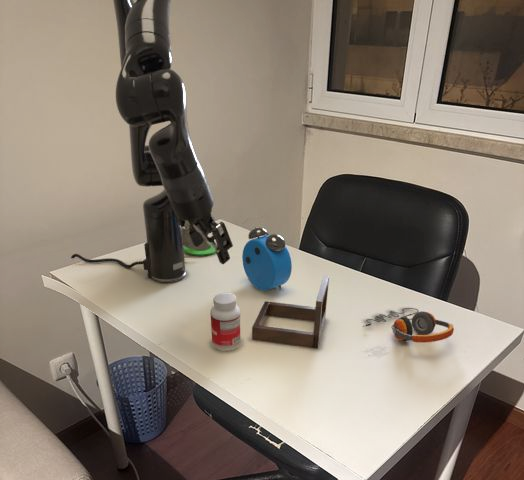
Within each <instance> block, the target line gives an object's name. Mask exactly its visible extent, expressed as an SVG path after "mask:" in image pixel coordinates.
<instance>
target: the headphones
mask: <svg viewBox="0 0 524 480" xmlns="http://www.w3.org/2000/svg"><path fill="white" fill-rule="evenodd" d="M405 310H416V312H413V313H408V314H406V315H403V316H400V315H401V314H404V313H405ZM411 316H412V318H409V317H411ZM392 317H394V318H396V320H394V322H393V324H392V325H391V327H390V328H391V330H392V333H393V335H394V337H395V338H396V339H397V340H399V341H403V342H410V341H411V342H413V343H433V342H439V341H442V340H445V339H448V338H450V337H451V336H453V335H454V330H455V328H454V324H453V323H451V322H448V321H444V320H440V319H436V318H435V316H434V314H432V313H430V312H428V311H420V310H419V309H418V308H415V307H404V308H402V312H398V311H393V310H390V311H389V314H387V315H386V314H378V315H375V316H374V318H367V319H365V322H366V323H367V324H364V325H362V328H364V327H365V328H366V327H370V326H371V325H372V324H373V323H372V321H374V322H376V323H380V322H384V323H386V322H387V320H386V319H385V318H388V319H392ZM370 321H371V322H370ZM436 325H437V326H441V327H445V328H447V329H445V330H443V331H440V332H437V333H433V332H434V330H435V327H436ZM414 331H415V332H416V334H413V333H414ZM431 333H432V334H431Z"/></svg>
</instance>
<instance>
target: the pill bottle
mask: <svg viewBox="0 0 524 480" xmlns="http://www.w3.org/2000/svg"><path fill="white" fill-rule="evenodd" d="M212 302H213V303H212V304H213V305H212V307H211V309H210V313H209V314H210V332H211V333H210V334H211V344H212V347H213V348H215V349H217V350H219V351H223V352H229V351H232V350H236V349H237V348H238V347H239V346H240V345H241V340H242V339H241V337H242V336H241V309H240V307H239V306H238V305H237V303H238V301H237V296H236V295H235V294H233V293H229V292H222V293H217V294H215V295H214V296H213V301H212Z"/></svg>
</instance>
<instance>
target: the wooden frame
mask: <svg viewBox="0 0 524 480" xmlns="http://www.w3.org/2000/svg"><path fill="white" fill-rule="evenodd" d="M329 281H330V276H329V275H323V277H322V280H321V284H320V286H319V290H318V294H317V296H316V299H315V306H309V305H301V304H291V303H286V302H285V303H284V302H276V301H268V300H267V301H266V300H265V301H264V302H263V304H262V306H261V308H260V310H259V313H258V314H257V317H256V319H255V321H254V323H253V325H252V327H251V340H252V341H257V342H266V343H272V344H273V343H274V344H282V345H289V346H296V347H303V348H310V349H319V345H320V341H321V339H322V334H323V330H324V327H325V326H324V325H325V322H326V314H327V305H328V304H327V303H328V293H329V284H330V283H329ZM269 317H274V318H282V319H290V320H298V321H305V322H313V331H306V330H298V329H291V328H282V327H274V326H268V325H266V322H267V320H268V319H269Z"/></svg>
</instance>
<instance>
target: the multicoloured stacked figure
mask: <svg viewBox="0 0 524 480" xmlns="http://www.w3.org/2000/svg"><path fill="white" fill-rule="evenodd" d="M212 212H213V209H212V210H211V213H212ZM182 233H183V246H184V253H186V254H188V255H189V256H195V257H205V256H210V255H214V254H216V251H215V249H214V248H213V246H212V245H211V244H210V243H207V242H206V241H205V239H204V238H203V240H204V241H203V243H202V244H201V245H199V246H198V247H196V246H194V244H193V242H192V240H191V237H190V235H189V233H187V232H186V230H185V228H184V227H182ZM210 234H212V232H211V233H210ZM207 236H208V237H209V234H208V235H207Z"/></svg>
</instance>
